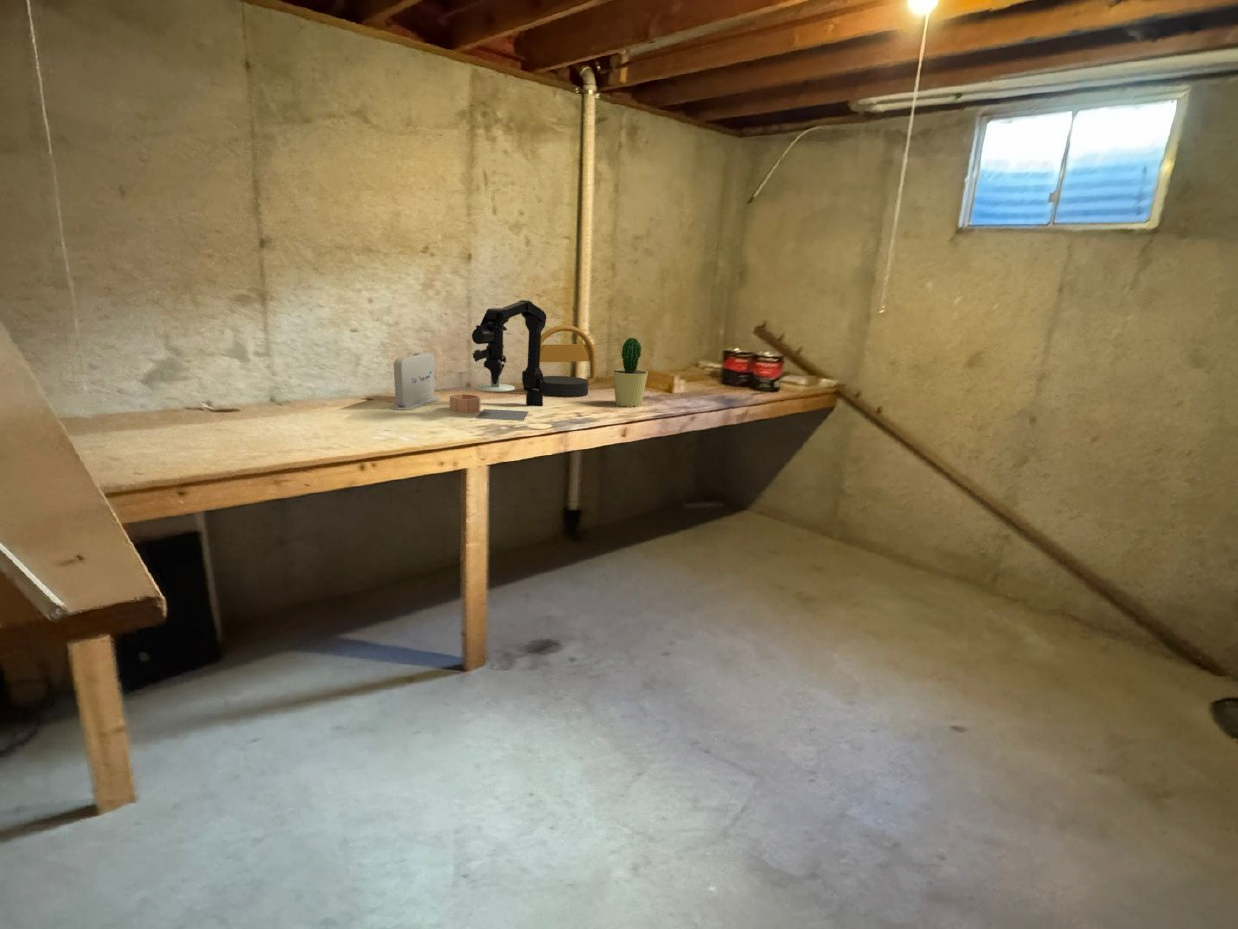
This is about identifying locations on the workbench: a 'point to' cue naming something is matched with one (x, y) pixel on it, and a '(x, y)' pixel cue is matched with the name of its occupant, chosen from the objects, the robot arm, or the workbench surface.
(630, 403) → the potted cactus
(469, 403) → the bowl
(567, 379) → the chair
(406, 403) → the wireless router
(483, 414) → the mat
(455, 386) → the workbench surface
